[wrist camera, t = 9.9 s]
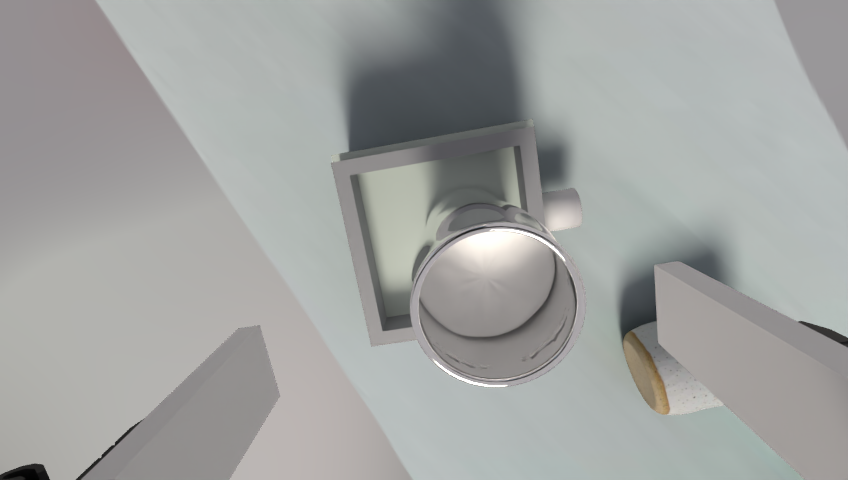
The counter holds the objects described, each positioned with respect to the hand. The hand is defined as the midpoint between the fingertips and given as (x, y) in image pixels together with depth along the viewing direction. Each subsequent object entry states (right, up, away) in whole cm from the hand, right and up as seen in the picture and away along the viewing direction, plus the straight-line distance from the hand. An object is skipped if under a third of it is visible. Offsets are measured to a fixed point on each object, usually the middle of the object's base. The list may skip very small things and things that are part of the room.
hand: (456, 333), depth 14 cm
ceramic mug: (+21, -7, +25) cm, 33 cm away
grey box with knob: (+2, +5, +22) cm, 23 cm away
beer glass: (+2, +4, +16) cm, 17 cm away
